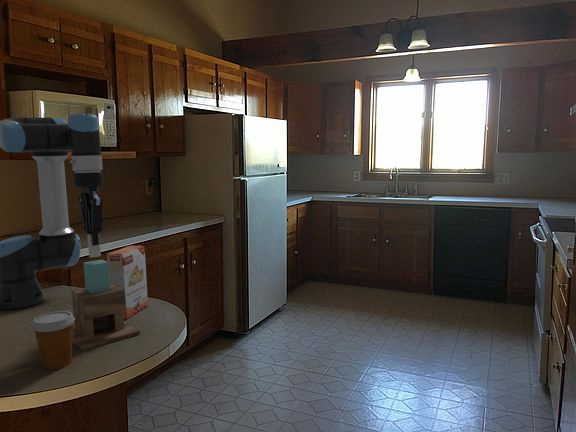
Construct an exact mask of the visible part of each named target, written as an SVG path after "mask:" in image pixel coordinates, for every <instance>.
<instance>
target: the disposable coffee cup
mask: <svg viewBox="0 0 576 432" xmlns="http://www.w3.org/2000/svg"><path fill="white" fill-rule="evenodd" d="M74 321H75V317H74V313H72V312H71V311H67V310H58V311H51V312H46V313H42V314H39V315H37V316H35V317H34V318H33V320H32V324H31V328H32V330H33V331H34V334H35V338H36V343H37V346H38V350H39V355H40V358H41V359H40V360H41V362H42V366H43V368H44V369H46V370H56V369H58V370H59V369H61V368H65V367H67V366H68V365H70V364H71V363H72V362H73V361H72V360H73V342H72V341H73V329H74Z"/></svg>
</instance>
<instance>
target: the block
mask: <svg viewBox="0 0 576 432" xmlns="http://www.w3.org/2000/svg"><path fill="white" fill-rule="evenodd" d="M83 273H84V285H85V287H84V288H86V292H87V293H89V294H90V295H91V294H96V293H101V292H106V291H110V283H109V271H108V262H107V260H104V259H98V260H91V261H85V262H83Z"/></svg>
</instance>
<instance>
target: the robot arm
mask: <svg viewBox="0 0 576 432" xmlns="http://www.w3.org/2000/svg"><path fill="white" fill-rule="evenodd" d="M67 118H68V119H67V121H66V120H65V119H63V118H60V117H51V116H50V117H34V116H33V117H32V116H31V117H23V116H15V117H9V118H5V119H1V120H0V148H1V149H2V150H3V151H5V152H7V153H10V152H11V153H27V152H28V153H29V152H30V154H31V158H33V160H35V161H36V164H37V173H38V174H37V175H38V185H39V187H38V188H39V198H40V209H41V221H42V229H41V230H40V231H39V232H38V238H34V237H33V236H32V235H29V234H27V235H20V236H13V237H10V238H6V239H3V240H1V241H0V310H3V311H5V310H6V311H7V310H18V309H25V308H29V307H32V306H33V307H34V306H35V305H38V304H41V303H42V302H44V301H45V293H44V291H43V289H42V287H41V285H40V284H39V281H38V279H37V272H42V271H46V270H54V269H61V268H63V269H64V268H65V269H66V268H68V267H72V266H75V265H76V264H77V263H78V262H79V260H80V257H81V247H82V246H81V239H80V236H79V235H78V233H75V230H74V229H73V228H72V227H70V222H69V211H68V209H69V207H68V195H67V186H66V185H67V184H66V183H67V182H66V173H65V172H66V168H65V160H66V159H67V158H68V157H69V152H70V154H71V160H69V163H70V164H71V165H72V171H74V173H73V175H72V176H73V177H72V179H73V180H72V181H73V186H74V187H77V188H80V194H79V196H78V197H77V200H78V203H79V208H80V213H81V214H80V215H81V219H82V220H81V221H82V225H83V230H84V231H85V232H86V235H87V246H88V257H89V258H97V257H101V256H102V255H101V253H102V252H101V243H100V242H101V240H100V233H101V232H102V231H103V204H104V199H103V197H100V192H99V190H98V189H99V188H98V187H100V186H103V185H104V184H105V183H104V174H103V172H102V170H103V169H104V167H103V157H102V151H101V150H102V147H101V134H100V129H101V128H100V127H101V126H100V125H99V119H98V116H97V115H96V114H93V113H71V114H70V115H68V117H67Z"/></svg>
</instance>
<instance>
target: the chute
mask: <svg viewBox="0 0 576 432" xmlns="http://www.w3.org/2000/svg"><path fill="white" fill-rule="evenodd" d="M71 300H72V301H71V302H72V311H73V313H72V314H73V317H75V321H74V323H73V325H74V327H73V341H72V344H74V345H75V346H76V347H77V348H78V349H79V350H80V351H82V352H83V351H85V350H90V349H93V348H97V347H101V346H104V345H106V344H111V343H115V342H118V341H121V340H125V339H129V338H133V337H135V336H139V335H141V331H140V329H137V328H136V327H134V326H132V325H131V324H130V323H127V321H125V319H124V317H123V311H126V300H125V290H124V289H122V288H120V287H118V286H116V285H114V284H112V283H110V291H106V292H101V293H96V294H91V295H90V294H89V293H87V292H86V287H81V288H77V289H72V290H71Z"/></svg>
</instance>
